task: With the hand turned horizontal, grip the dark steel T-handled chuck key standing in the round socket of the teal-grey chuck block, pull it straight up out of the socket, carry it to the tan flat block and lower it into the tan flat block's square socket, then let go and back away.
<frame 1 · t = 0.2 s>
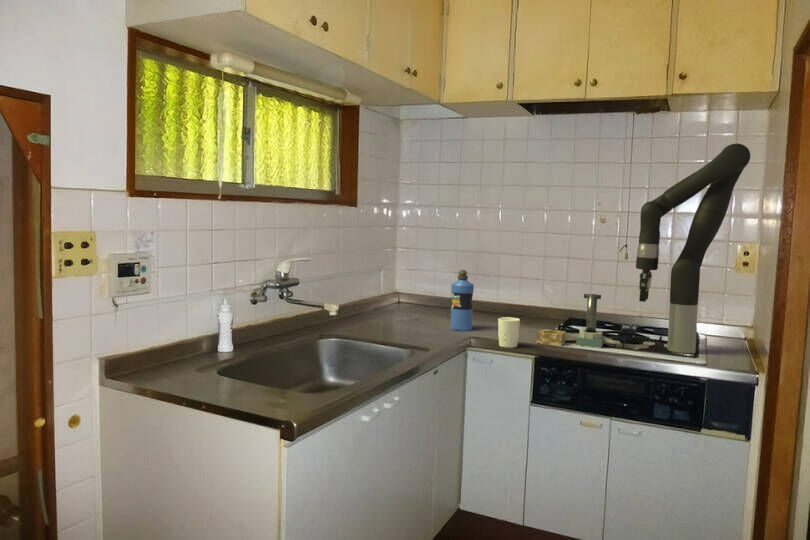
hand: (643, 300, 223), 17 cm above the worktop, tool pointing down, fingers open, 8 cm apart
chuck key: (590, 336, 227), point 3 cm above the worktop, touching chuck block
water bottle: (461, 329, 255), on the worktop
chuck block: (590, 344, 227), on the worktop
white cup: (508, 346, 223), on the worktop
tan flat block: (551, 342, 230), on the worktop
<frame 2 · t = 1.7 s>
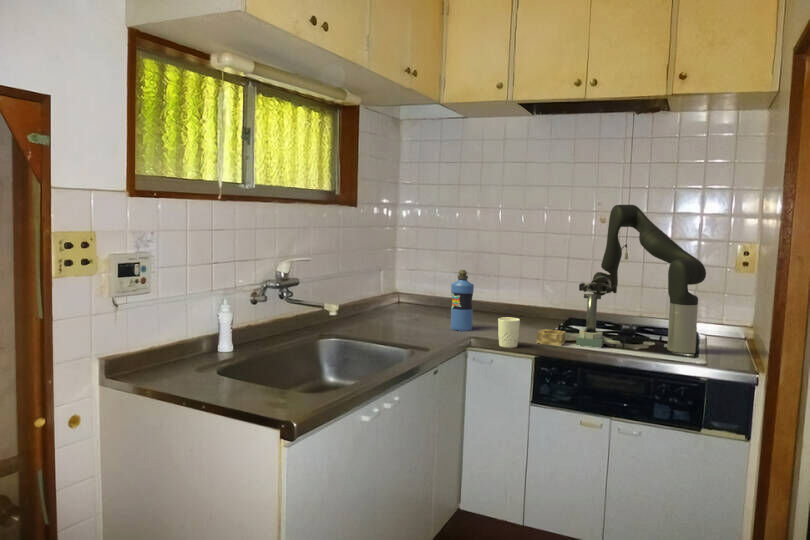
hand: (596, 289, 236), 20 cm above the worktop, tool horizontal, fingers open, 8 cm apart
nothing on the worktop moved.
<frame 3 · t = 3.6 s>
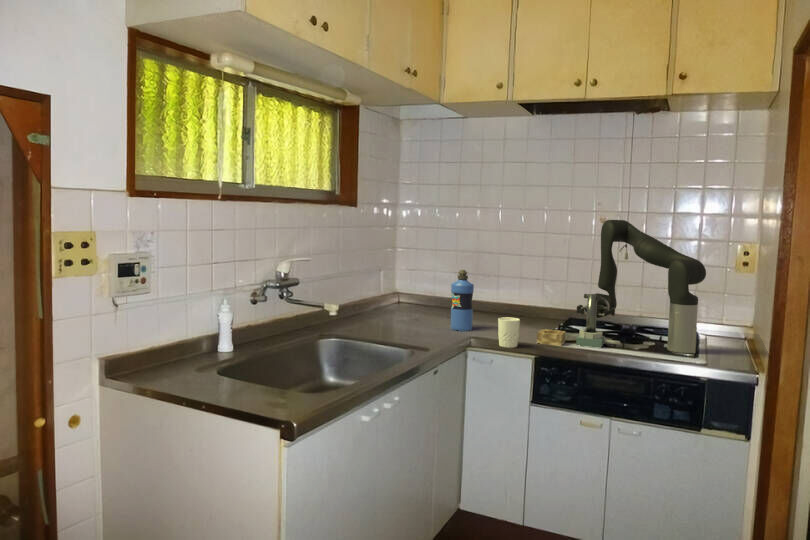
hand: (593, 312, 232), 11 cm above the worktop, tool horizontal, fingers open, 8 cm apart
nothing on the worktop moved.
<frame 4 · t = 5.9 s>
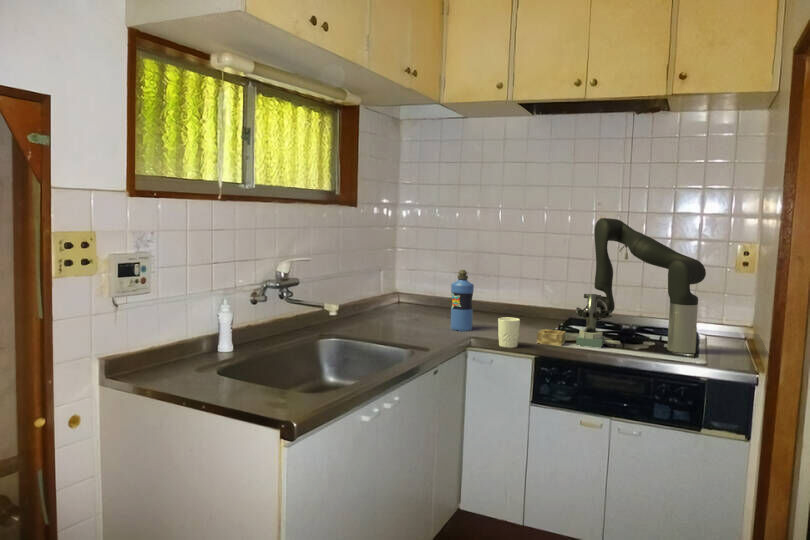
hand: (590, 315, 224), 11 cm above the worktop, tool horizontal, fingers closed on chuck key, 3 cm apart
chuck key: (590, 336, 227), point 3 cm above the worktop, touching chuck block, gripper
everything else where it was.
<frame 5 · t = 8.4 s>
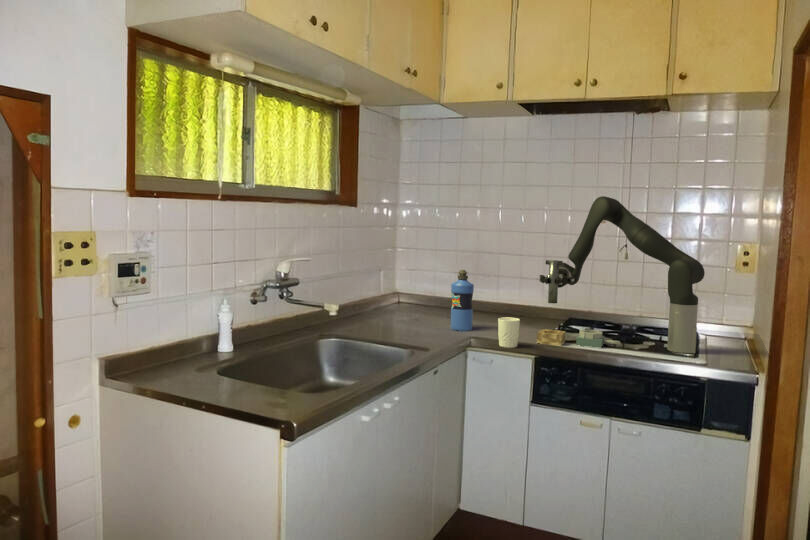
hand: (552, 281, 226), 24 cm above the worktop, tool horizontal, fingers closed on chuck key, 3 cm apart
chuck key: (552, 302, 229), point 15 cm above the worktop, touching gripper
everything else where it was.
when the fingers open (10 cm above the worktop, at t = 11.1 s): chuck key stays where it is, resting on tan flat block.
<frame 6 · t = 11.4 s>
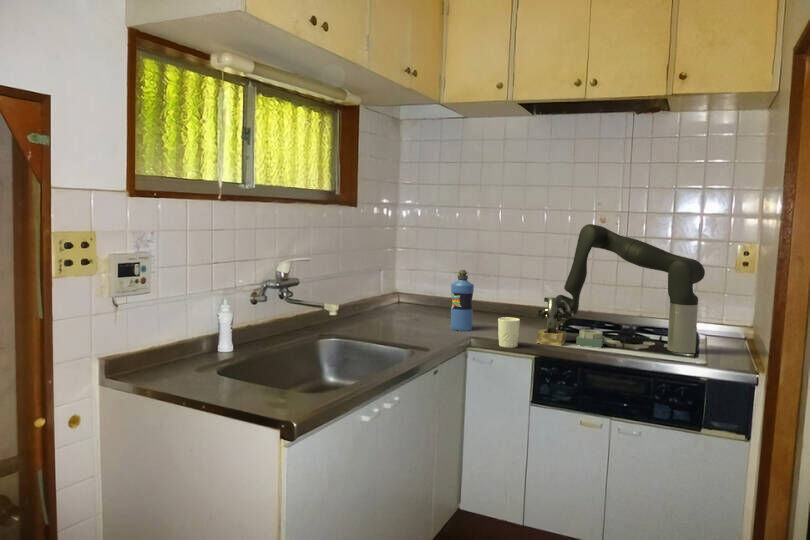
hand: (550, 316, 227), 10 cm above the worktop, tool horizontal, fingers open, 5 cm apart
chuck key: (551, 339, 231), point 1 cm above the worktop, touching tan flat block
everything else where it was.
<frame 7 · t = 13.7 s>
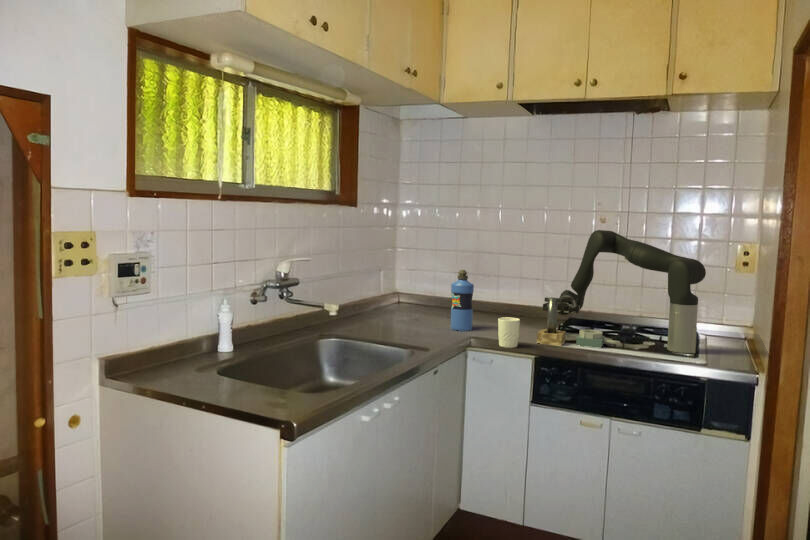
hand: (558, 309, 239), 11 cm above the worktop, tool horizontal, fingers open, 8 cm apart
nothing on the worktop moved.
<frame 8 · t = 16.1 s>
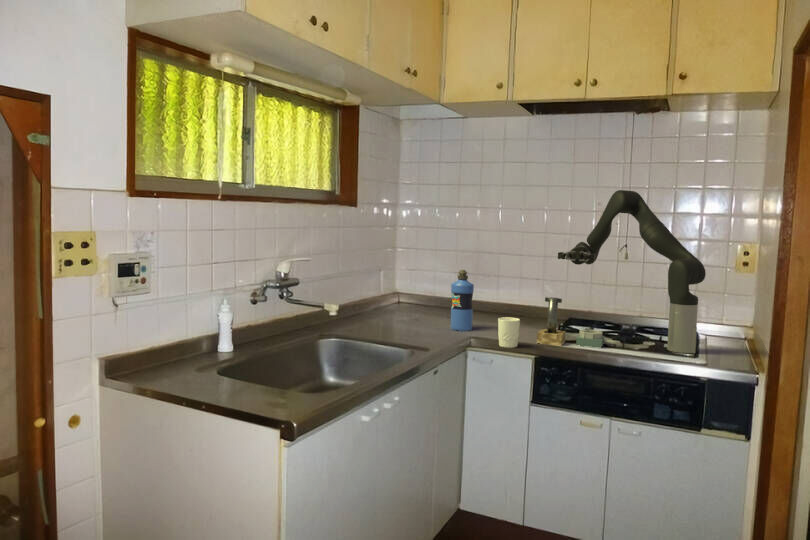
hand: (573, 257, 238), 32 cm above the worktop, tool horizontal, fingers open, 8 cm apart
nothing on the worktop moved.
at the end: chuck key 0.1 cm off-centre on the tan flat block, point 1.0 cm above the tan flat block's base; the gripper is holding nothing; chuck key touching tan flat block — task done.
